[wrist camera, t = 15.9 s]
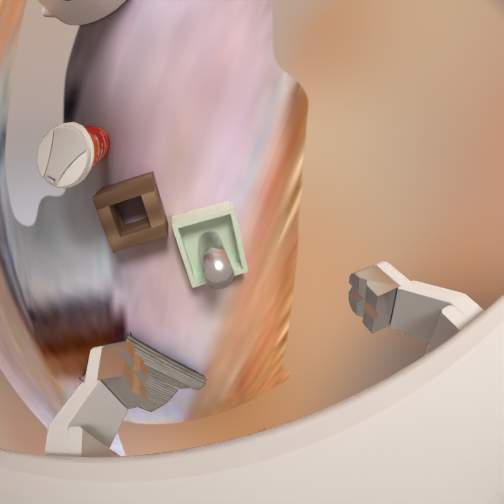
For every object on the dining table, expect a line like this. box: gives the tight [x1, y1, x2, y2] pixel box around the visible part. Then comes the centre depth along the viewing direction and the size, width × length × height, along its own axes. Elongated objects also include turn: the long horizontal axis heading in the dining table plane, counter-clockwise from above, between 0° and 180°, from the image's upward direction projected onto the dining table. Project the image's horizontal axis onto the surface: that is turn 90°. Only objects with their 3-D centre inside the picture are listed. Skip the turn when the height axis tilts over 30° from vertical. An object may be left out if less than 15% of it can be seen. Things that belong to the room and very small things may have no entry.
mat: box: [79, 333, 206, 412], centre depth 58 cm, size 23×24×5 cm
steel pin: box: [198, 231, 234, 289], centre depth 43 cm, size 4×4×11 cm
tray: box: [172, 200, 248, 288], centre depth 47 cm, size 12×10×4 cm
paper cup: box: [37, 122, 110, 188], centre depth 30 cm, size 8×8×14 cm
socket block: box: [93, 172, 168, 252], centre depth 40 cm, size 9×9×5 cm
